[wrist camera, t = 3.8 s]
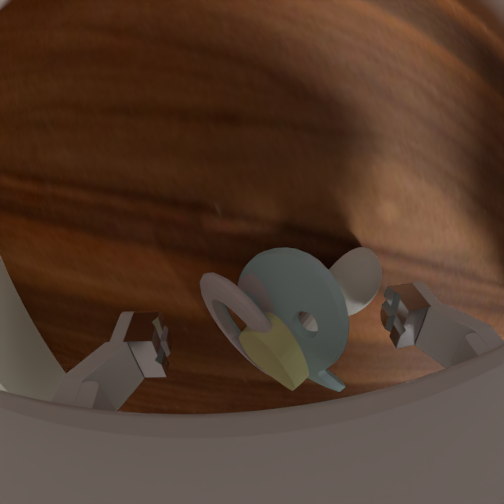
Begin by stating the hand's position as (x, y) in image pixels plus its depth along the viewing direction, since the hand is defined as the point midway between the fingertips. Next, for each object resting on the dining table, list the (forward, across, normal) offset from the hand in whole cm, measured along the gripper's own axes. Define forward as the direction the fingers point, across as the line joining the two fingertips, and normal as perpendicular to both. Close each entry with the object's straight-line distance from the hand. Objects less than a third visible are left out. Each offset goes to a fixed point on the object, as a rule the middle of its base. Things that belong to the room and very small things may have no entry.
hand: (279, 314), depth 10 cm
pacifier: (+4, +1, 0) cm, 4 cm away
